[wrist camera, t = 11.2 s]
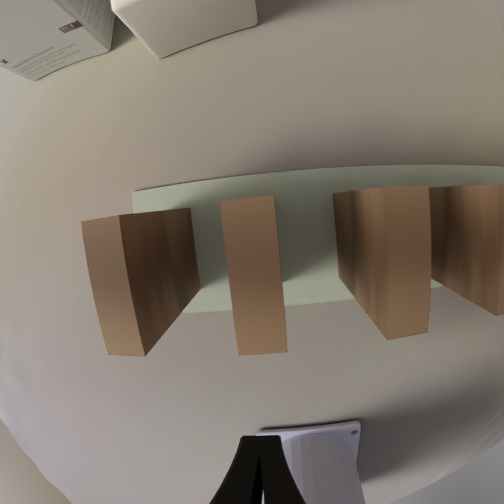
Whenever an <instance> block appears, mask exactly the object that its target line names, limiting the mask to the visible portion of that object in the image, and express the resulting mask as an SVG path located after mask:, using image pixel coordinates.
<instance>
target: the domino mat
mask: <svg viewBox="0 0 504 504" xmlns="http://www.w3.org/2000/svg"><path fill="white" fill-rule="evenodd" d="M420 185H428V188H429V187H448V186H471V185H504V167H503V166H482V165H439V164H420V165H374V166H352V167H334V168H319V169H305V170H293V171H282V172H272V173H262V174H253V175H244V176H235V177H227V178H219V179H212V180H204V181H197V182H190V183H184V184H177V185H171V186H164V187H158V188H152V189H147V190H141V191H135V192H131V194H132V204H133V213H143V212H152V211H161V210H171V209H181V208H190V209H191V218H192V226H193V234H194V242H195V250H196V258H197V265H198V272H199V279H200V286H201V289H200V291H199V292H198V293H197V294H196V295H195V297H194V298H193V299H192V300H191V301H190V303H189V304H188V305H187V306H186V307H185V309H184V310H183V311H182V312H181V313H190V312H210V311H226V310H233V309H232V301H231V293H230V286H229V278H228V270H227V261H226V253H225V245H224V236H223V227H222V219H221V210H220V201H224V200H232V199H241V198H250V197H260V196H270V195H274V199H275V209H276V218H277V229H278V239H279V250H280V260H281V272H282V283H283V296H284V306H291V305H301V304H312V303H321V302H331V301H340V300H348V299H355V297H354V296H353V295H352V294H351V292H350V291H349V290H348V289H347V287H346V286H345V285H344V283H343V282H342V281H341V280H340V278H339V277H338V260H337V244H336V229H335V217H334V205H333V195H332V193H338V192H346V191H354V190H362V189H371V188H379V187H394V186H420ZM442 286H444V285H442V284H440V283H438V282H437V281H435V280H433V279H431V288H436V287H442Z"/></svg>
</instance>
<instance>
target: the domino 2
mask: <svg viewBox="0 0 504 504" xmlns="http://www.w3.org/2000/svg"><path fill="white" fill-rule="evenodd" d="M220 210H221V219H222V227H223V236H224V245H225V253H226V261H227V270H228V278H229V286H230V293H231V301H232V309H233V317H234V324H235V331H236V339H237V346H238V353H239V355H255V354H271V353H284V352H287V338H286V323H285V309H284V296H283V283H282V272H281V260H280V250H279V239H278V229H277V218H276V209H275V199H274V195H270V196H260V197H250V198H241V199H232V200H224V201H220Z"/></svg>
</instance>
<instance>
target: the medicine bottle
mask: <svg viewBox="0 0 504 504" xmlns="http://www.w3.org/2000/svg"><path fill="white" fill-rule="evenodd" d="M110 1H111V7H112V11H113V12H114V13H115V14H116V15H117V16H118V17H119V18H120V19H121V20H122V21H123V23H124V24H125V25H126V26H127V27H128V28H129V29H130V30H131V31H132V32H133V33H134V34H135V35H136V36H137V37H138V38H139V40H140V41H141V42H142V43H143V44H144V45H145V46H146V47H147V48H148V49H149V50H150V52H151V53H152V54H153V55H154V56H155V57H156V58H159V59H161V58H163V57H166V56H168V55H171V54H173V53H175V52H178V51H180V50H183V49H185V48H188V47H191V46H193V45H196V44H199V43H202V42H204V41H207V40H210V39H213V38H216V37H219V36H222V35H225V34H228V33H232V32H235V31H238V30H242V29H245V28H249V27H252V26H255V25H256V24H257V23H258V19H257V11H256V3H255V0H110Z"/></svg>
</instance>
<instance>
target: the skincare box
mask: <svg viewBox="0 0 504 504" xmlns="http://www.w3.org/2000/svg"><path fill="white" fill-rule="evenodd" d="M114 20H115V13H114V12H113V11H112V7H111V1H110V0H0V66H1V67H3V68H6V69H8V70H10V71H12V72H14V73H16V74H18V75H20V76H22V77H24V78H26V79H29V80H31V81H36V80H38V79H40V78H42V77H43V76H45V75H47V74H49V73H51V72H53V71H55V70H58V69H60V68H62V67H65V66H67V65H70V64H72V63H75V62H78V61H80V60H83V59H86V58H89V57H93V56H96V55H101V54H104V53H107V52H109V51H110V49H111V42H112V34H113V27H114Z"/></svg>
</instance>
